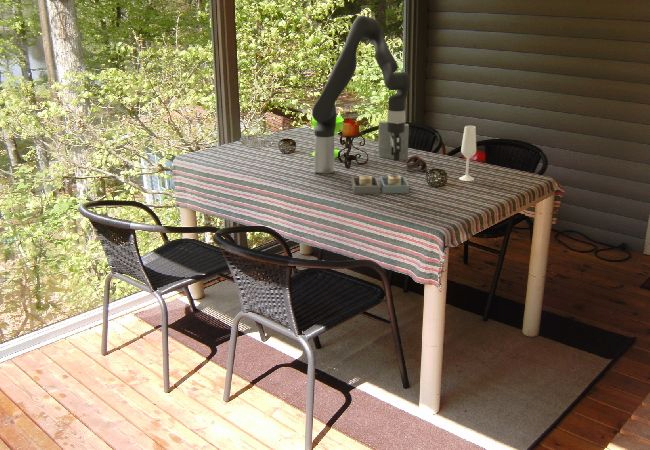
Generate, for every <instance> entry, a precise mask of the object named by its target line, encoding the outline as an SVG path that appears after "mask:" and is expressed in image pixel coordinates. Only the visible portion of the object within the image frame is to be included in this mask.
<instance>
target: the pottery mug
mask: <svg viewBox="0 0 650 450" xmlns="http://www.w3.org/2000/svg"><path fill="white" fill-rule="evenodd" d="M405 161H406V163H405V165H406V167H405V169H406V171H407V172H408V171H409V170H410V171H411V170H415V169H419V167H421V169H422V170H425V172H428V165H427V162H426V160H425V159H424V158H423V157H421V156H419V155H412V156H411V157H409V158H408V159H407V160H405ZM412 161H413V163H411V162H412Z"/></svg>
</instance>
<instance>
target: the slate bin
mask: <svg viewBox="0 0 650 450" xmlns="http://www.w3.org/2000/svg"><path fill="white" fill-rule="evenodd" d="M400 177H401V186H388V176H379V185H380V189H381V190H382V193H383V194H409V193H410V185H409V182H408V180H407V179H406V177H405V176H400Z"/></svg>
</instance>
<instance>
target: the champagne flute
mask: <svg viewBox="0 0 650 450" xmlns="http://www.w3.org/2000/svg"><path fill="white" fill-rule="evenodd" d="M460 152H461V154H462V156H464V158H466V163H465V165H466V166H465V175H462V176H461V177H459V178H458V179H459V180H460V181H464V182H472V181H474V180H475V178H473V177H472V176H471V175H470V174H469V169H470V168H469V166H470V159H471V158H472V157H474V155H475V154H476V153H477V130H476V126H475V125H465V126H464V130H463V136H462V141H461V148H460Z"/></svg>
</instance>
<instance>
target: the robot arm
mask: <svg viewBox="0 0 650 450" xmlns="http://www.w3.org/2000/svg"><path fill="white" fill-rule="evenodd" d="M362 39H364V40H366V41H369V42H370V43H371V44H372V45H373V47H374V49H375V51H374V52H375V53H374V56H375V57H374V58H375V60H376V63H377V65H378V67H379V68H380V70H381V73H382V76H383V82H384V85H385V87H386V88H387V89H388V90H390V91H396V93H394V94H392V95H390V96H389V97H388V107H387V108H388V109H387V115H386V117H387V131H388V132H390V133H391V142H390V143H391V155H394V159H393V161H394V162H398V161H400V160H399V152H401V137H400V135H399V134H400V133H403V132H404V131H405V124H406V101H407V100H406V99H407V96H408V92H409V90H410V87H411V77H410V75H409V74H408V72H405V71H400V72H398V68H399V65H398V62H397V61H396V59H395V57H394V56H393V54H392V52H391V51H390V48H389V47H388V44H387V41H386V39H385V34H384V33H383V30H382V27H381V25H380V23H379V21H378V20H377V19H375V18H373V17H370V16H365V15H358V16H357V17H356V18H355V19H354V21H353V23H352V25H351V27H350V30H349V32H348V35H347V37H346V40H345V43H344V46H343V47H342V49H341V52H340V54H339V55H338V58H337V60H336V62H335V64H334V65H333V68H332V69H331V72H330V73H329V74H330V75H329V77H328V79H327V81H326V83H325V86H324V88H323V90H322V92H321V94H320V95H319V98H318V99H317V101H316V102H315V104H314V105H313V106H312V112H311V113H312V117H313V118H314V119H315V120H316V121H317V125H316V128H314V131H313V132H314V133H313V134H314V150H313V152H314V156H313V157H314V158H313V159H314V173H315V172H316V173H319V174H331V173H334V172H335V158H334V149H335V134H334V132H335V128H336V117H337V108H336V105H335V104H336V103H337V100H338V98H339V97H340V95H341V94H342V93H343V91H344V90H345V89H346V87H347V86H348V85H349V83H350V81H351V80H352V78H353V76H354V74H355V73H356V70H357V64H358V63H357V62H358V61H357V50H358V47H359V44H360V42H361V41H362ZM313 118H312V119H313ZM397 147H398V149H397Z"/></svg>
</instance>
